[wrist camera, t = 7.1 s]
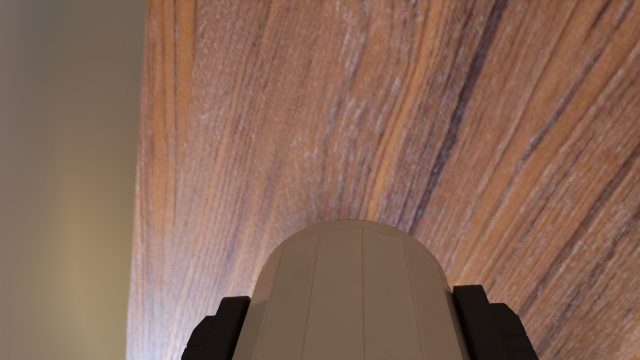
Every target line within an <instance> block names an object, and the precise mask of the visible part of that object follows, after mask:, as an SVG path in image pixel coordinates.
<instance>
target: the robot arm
mask: <svg viewBox="0 0 640 360" xmlns="http://www.w3.org/2000/svg"><path fill="white" fill-rule="evenodd" d="M453 296H454V300H455V303H456V306H457V310H458V313H459V317H460V320H461V323H462V327H463V330H464V334H465V337H466V340H467V344H468V347H469V351H470V354H471V357H472V360H539V359H538V357H537V355H536V353H535V351H534V350H533V347H532V344H531V342H530V340H529V338H528V336H527V335H526V331H525V329H524V327H523V325H522V323H521V320H520V318H519V316H518V315H517V314H515V313H514V312H513V311H512V310H511V309H510V308H509V307H508V306H507V305H506V304H505V303H490V304H489V301H488V299H487V296H486V294H485V291H484V289H483V287H482V285H463V286H454V287H453ZM250 302H251V298H250V297H249V296H238V297H224V298H223V299H222V301H221V303H220V305H219V308H218V310H217V313H216V315H215V316H206V317H205V318H204V319H203V320H202V321H201V322H200V323H199V324H198V325H197V326H196V327H195V329H194V330H193V332H192V334H191V336H190V339H189V341H188V343H187V348H185V350H184V352H183V354H182V356H181V360H232V358H233V355H234V351H235V348H236V345H237V342H238V339H239V336H240V333H241V330H242V327H243V323H244V320H245V317H246V314H247V311H248V308H249V305H250Z"/></svg>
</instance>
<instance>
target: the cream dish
mask: <svg viewBox="0 0 640 360" xmlns="http://www.w3.org/2000/svg"><path fill="white" fill-rule="evenodd" d="M232 360H472V357H471V354H470V351H469V347H468V344H467V340H466V337H465V334H464V330H463V327H462V323H461V320H460V317H459V313H458V310H457V306H456V303H455V300H454V296H453V293H452V290H451V288H450V287H449V285H448V282H447V278H446V275H445V273H444V271H443V269H442V267H441V265H440V264H439V262H438V261H437V259H436V258H435V256H434V255H433V254H432V253H431V252H430V251H429V250H428V249H427V248H426V247H425V246H424V245H423V244H421V243H420V242H419V241H418V240H416V239H415V238H413V237H412V236H410V235H409V234H407V233H405V232H403V231H401V230H399V229H396V228H394V227H391V226H388V225H385V224H382V223H377V222H373V221H367V220H357V219H344V220H334V221H327V222H323V223H319V224H315V225H312V226H310V227H307V228H305V229H302V230H300V231H299V232H297V233H295V234H293V235H291V236H290V237H289V238H287V239H286V240H284V241H283V242H282V243H281V244H280V245H279V246H278V247H277V248H275V249H274V251H273V252H272V253H271V254H270V256H269V257H268V258H267V260H266V262H265V264H264V266H263V268H262V270H261V272H260V274H259V277H258V280H257V283H256V286H255V289H254V292H253V295H252V298H251V302H250V305H249V308H248V311H247V314H246V317H245V320H244V323H243V327H242V330H241V333H240V336H239V339H238V342H237V345H236V348H235V351H234V355H233V358H232Z"/></svg>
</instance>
